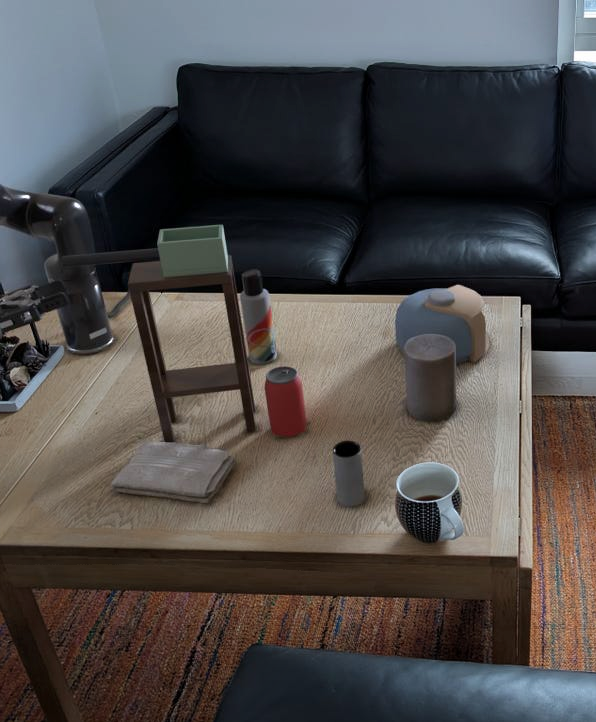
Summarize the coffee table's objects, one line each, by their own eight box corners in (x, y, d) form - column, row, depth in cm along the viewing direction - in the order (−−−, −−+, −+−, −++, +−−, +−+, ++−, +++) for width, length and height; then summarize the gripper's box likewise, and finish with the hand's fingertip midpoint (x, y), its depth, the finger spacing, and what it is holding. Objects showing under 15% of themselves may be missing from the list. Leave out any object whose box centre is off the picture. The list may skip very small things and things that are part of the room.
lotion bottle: (270, 366, 172) (258, 279, 162) (244, 362, 173) (231, 276, 163) (281, 352, 177) (270, 267, 167) (256, 349, 178) (243, 264, 168)
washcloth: (212, 506, 135) (209, 491, 134) (108, 495, 138) (104, 480, 136) (240, 461, 146) (237, 447, 144) (143, 451, 148) (140, 437, 146)
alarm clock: (495, 364, 174) (496, 313, 168) (399, 371, 171) (397, 319, 165) (481, 320, 190) (481, 272, 184) (393, 326, 188) (391, 278, 181)
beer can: (313, 422, 156) (307, 368, 149) (295, 442, 150) (288, 387, 144) (282, 415, 157) (275, 361, 151) (264, 435, 152) (255, 380, 146)
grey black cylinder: (338, 489, 139) (333, 440, 134) (365, 488, 140) (361, 439, 134) (336, 507, 136) (331, 458, 130) (364, 506, 136) (360, 456, 131)
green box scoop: (71, 271, 137) (61, 237, 134) (228, 257, 142) (222, 224, 139) (64, 286, 132) (55, 252, 129) (227, 272, 137) (222, 238, 134)
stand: (167, 418, 156) (132, 263, 140) (255, 407, 160) (231, 254, 143) (164, 443, 150) (127, 283, 133) (255, 431, 153) (230, 274, 136)
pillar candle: (464, 400, 163) (465, 334, 155) (442, 427, 155) (441, 358, 147) (420, 388, 166) (419, 323, 158) (396, 414, 158) (393, 346, 151)
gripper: (-54, 320, 126) (56, 281, 131) (-48, 295, 137) (52, 260, 143) (-29, 362, 129) (77, 323, 135) (-26, 335, 141) (72, 299, 146)
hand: (64, 291), depth 139 cm, fingers open, 8 cm apart
